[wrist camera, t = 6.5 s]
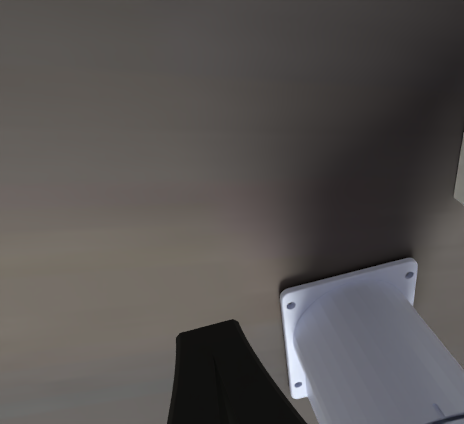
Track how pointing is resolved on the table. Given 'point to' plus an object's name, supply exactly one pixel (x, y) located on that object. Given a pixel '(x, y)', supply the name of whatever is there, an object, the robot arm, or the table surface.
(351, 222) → the table surface
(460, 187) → the panel
